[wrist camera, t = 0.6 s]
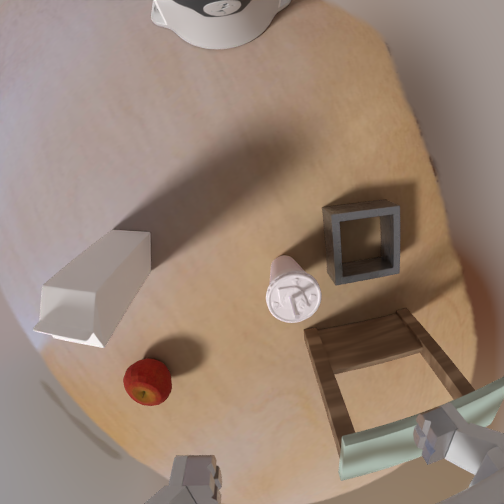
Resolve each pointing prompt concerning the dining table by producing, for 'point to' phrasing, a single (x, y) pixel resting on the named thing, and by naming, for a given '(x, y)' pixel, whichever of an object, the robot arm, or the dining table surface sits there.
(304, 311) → the smoothie
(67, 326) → the milk
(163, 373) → the apple
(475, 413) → the green-topped frame
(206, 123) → the dining table surface
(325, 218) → the socket
